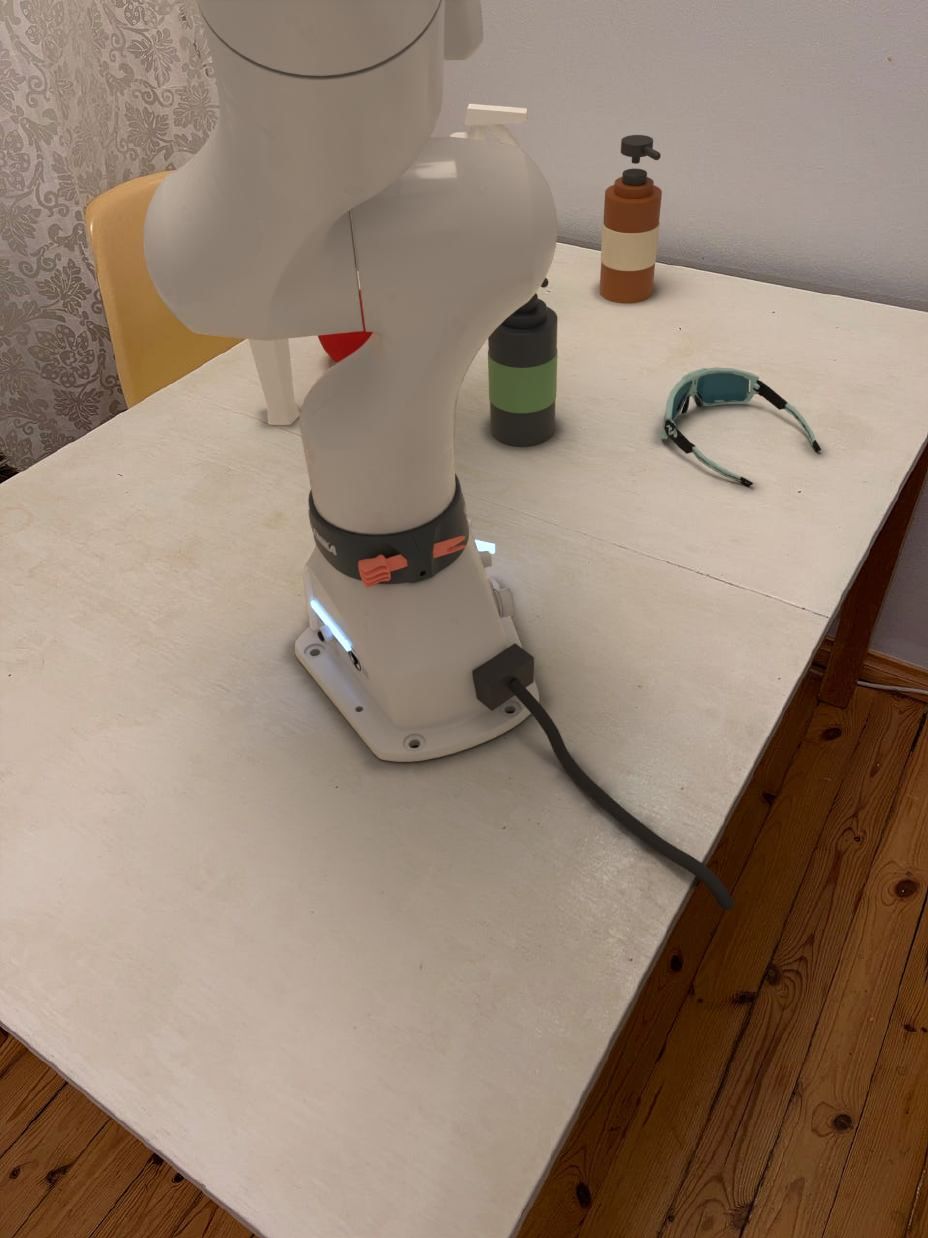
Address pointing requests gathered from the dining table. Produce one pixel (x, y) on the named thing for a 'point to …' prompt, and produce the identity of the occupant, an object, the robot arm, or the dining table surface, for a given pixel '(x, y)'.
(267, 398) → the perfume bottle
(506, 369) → the dark grey pump bottle
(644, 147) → the dark grey pump head
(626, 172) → the amber bottle
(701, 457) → the sunglasses
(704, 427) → the dining table surface
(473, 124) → the cream flat-topped arch
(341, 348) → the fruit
